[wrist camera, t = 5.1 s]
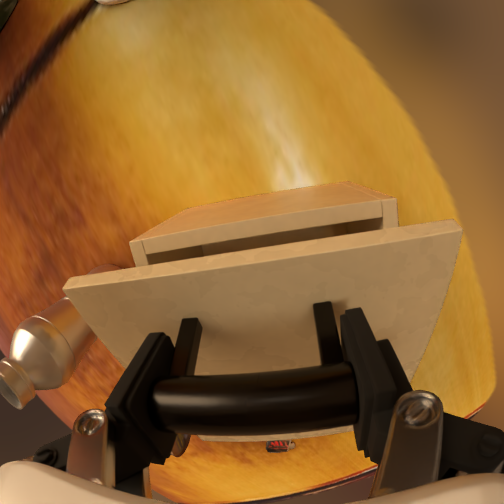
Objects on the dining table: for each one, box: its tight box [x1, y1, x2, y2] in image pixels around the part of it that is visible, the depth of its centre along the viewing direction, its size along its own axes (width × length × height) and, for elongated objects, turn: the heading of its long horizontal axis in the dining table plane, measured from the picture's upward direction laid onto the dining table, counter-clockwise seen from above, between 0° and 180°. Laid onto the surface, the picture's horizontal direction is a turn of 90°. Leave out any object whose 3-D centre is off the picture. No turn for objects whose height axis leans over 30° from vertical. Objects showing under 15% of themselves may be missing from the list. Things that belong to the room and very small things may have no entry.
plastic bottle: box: [0, 264, 122, 409], centre depth 22 cm, size 6×7×20 cm
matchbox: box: [266, 440, 295, 453], centre depth 38 cm, size 5×5×1 cm
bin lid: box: [63, 219, 463, 442], centre depth 13 cm, size 19×16×5 cm
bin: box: [129, 181, 399, 267], centre depth 24 cm, size 18×16×12 cm
